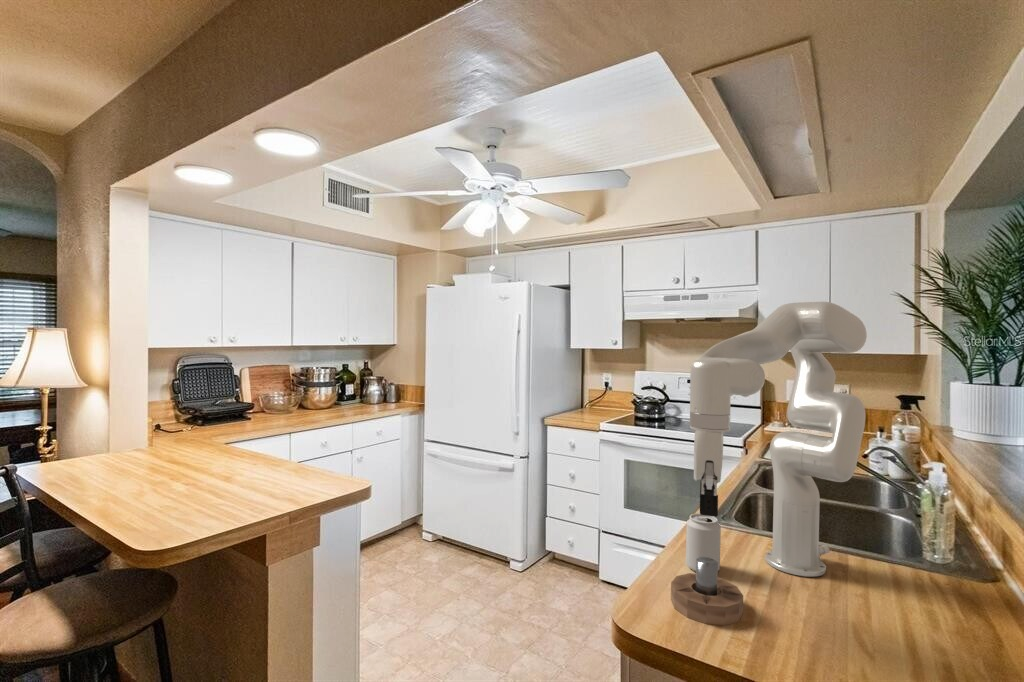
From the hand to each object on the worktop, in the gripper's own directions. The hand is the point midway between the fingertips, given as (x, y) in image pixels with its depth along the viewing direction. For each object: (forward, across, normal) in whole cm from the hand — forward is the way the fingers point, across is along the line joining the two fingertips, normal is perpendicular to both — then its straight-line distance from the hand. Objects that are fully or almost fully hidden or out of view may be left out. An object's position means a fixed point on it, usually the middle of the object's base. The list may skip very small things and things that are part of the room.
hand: (708, 507), depth 100 cm
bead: (+20, 0, 0) cm, 20 cm away
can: (+20, -17, -1) cm, 27 cm away
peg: (+20, 0, 0) cm, 20 cm away
